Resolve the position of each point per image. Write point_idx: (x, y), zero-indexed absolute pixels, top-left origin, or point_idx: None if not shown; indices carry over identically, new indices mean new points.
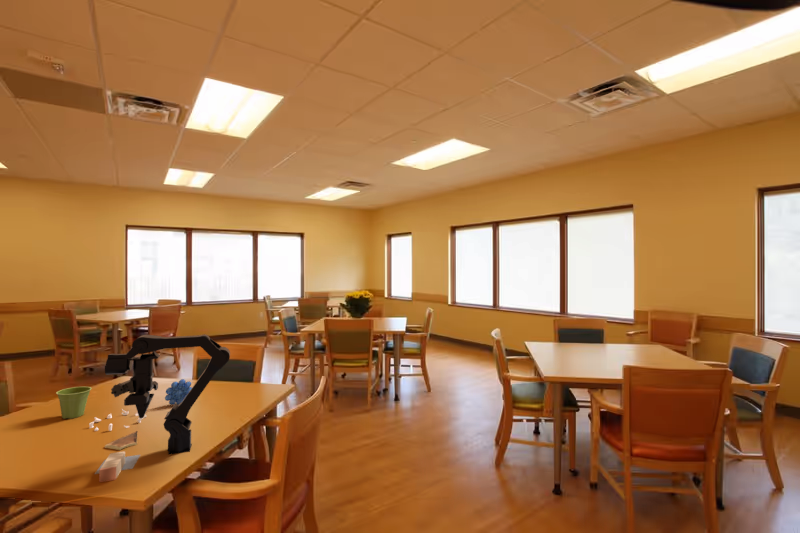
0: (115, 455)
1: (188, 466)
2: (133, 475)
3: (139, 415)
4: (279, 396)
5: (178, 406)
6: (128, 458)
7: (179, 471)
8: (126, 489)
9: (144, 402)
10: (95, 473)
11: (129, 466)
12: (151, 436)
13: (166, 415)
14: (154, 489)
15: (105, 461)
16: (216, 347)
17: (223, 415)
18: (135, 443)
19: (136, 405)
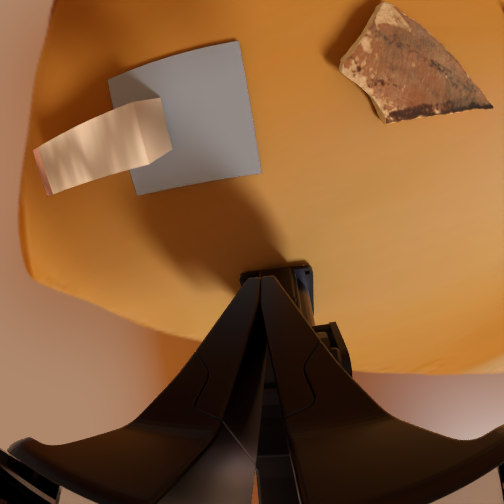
0: (113, 141)
1: (161, 331)
2: (104, 215)
3: (236, 300)
4: (490, 373)
5: (260, 462)
6: (228, 137)
7: (135, 318)
8: (48, 231)
9: (28, 474)
10: (111, 80)
11: (152, 176)
12: (452, 160)
13: (268, 396)
14: (62, 288)
15: (72, 130)
16: None
17: (481, 321)
18: (383, 118)
19: (147, 416)
